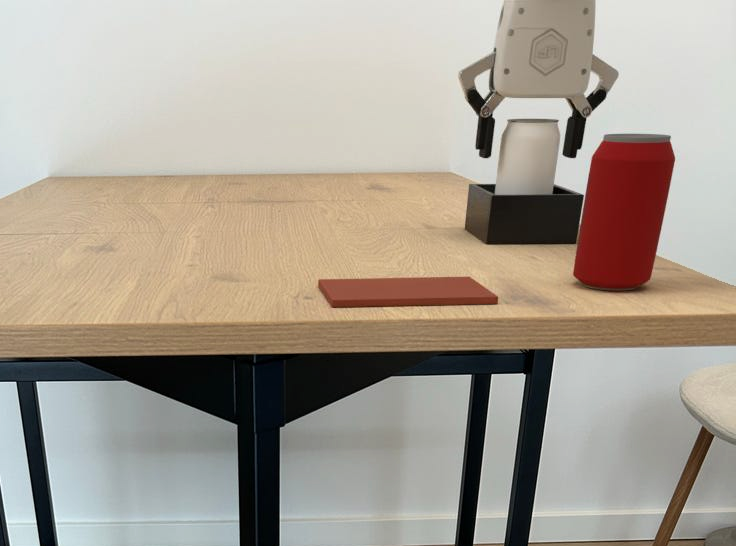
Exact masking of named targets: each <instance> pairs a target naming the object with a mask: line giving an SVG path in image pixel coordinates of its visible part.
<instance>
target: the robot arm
mask: <svg viewBox="0 0 736 546" xmlns="http://www.w3.org/2000/svg"><path fill="white" fill-rule="evenodd" d="M596 2H597V1H596V0H503V3H502V7H501V11H500V15H499V19H498V24H497V29H496V34H495V38H494V44H493V49H492V52H490V53H488V54H487V55H485V56H483V57H481V58H480V59H478V60H476V61H475V62H473V63H471V64H469V65H467V66H466V67H464V68H462V69H460V70H459V71H458V73H457V74H458V75H457V77H458V81H459V83H460V86H461V89H462V92H463V95H464V99H465V101H466V102H467V103H468V105H469V106H470V107H471V108H472V110H473V111H474V112H475V115H476V116H478V118H477V128H476V136H475V144H474V145H475V150H477V151H478V156H479V157H480V158H482V159H490V158H491V157H492V151H493V143H494V135H495V134H494V133H495V126H496V118H495V117H493V115H494V111H495V110H496V109H497V108H498V107H499V105H500V104H501V103H502V102H503V100H505V98H509V99H565V101H566V102H567V104H568V106H569V107H570V110H571V116H569V117H568V118H567V120H566V128H565V134H564V139H563V140H564V141H563V147H562V156H563V157H564V158H568V159H576V158H577V155H578V150H581V149H582V147H583V143H584V142H583V141H584V136H585V131H586V124H587V118H589V117H590V116H591V115H592V113H593V112H594V111H595V110H596V109H597V108H598V107H599V106H600V105H601V104H602V103H603V102H604V101H605V100H606V99H607V95H608V94H609V92H610V91H611V89H612V88H613V86H614V84H616V82H617V80H618V78H619V76H620V75H619V71H618V70H617V69H616V68H614V67H613V66H611V65H610V64H608V63H607V62H605V61H604V60H603V59H601V58H600V57H598V56H597V55H595V54H594V41H595V28H596V26H595V25H596V4H597V3H596ZM488 71H489V75H488V90H489V91H488V92H487V94H486V95H485V96H484V98H483V96H482V95H481V94H480V92H479V91H478V89H477V86H476V83H475V79H476V78H477V77H478V76H480V75H481V74H483V73H485V72H488ZM591 73H592V74H594V75H595V76H597V77H598V78H599V79H598V83H597V85H596V87H595V89H594V90H593V91H591V93H589V94H588V96H586V95H585V93H586V92H587V90H588V87H589V83H590V77H591Z"/></svg>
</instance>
